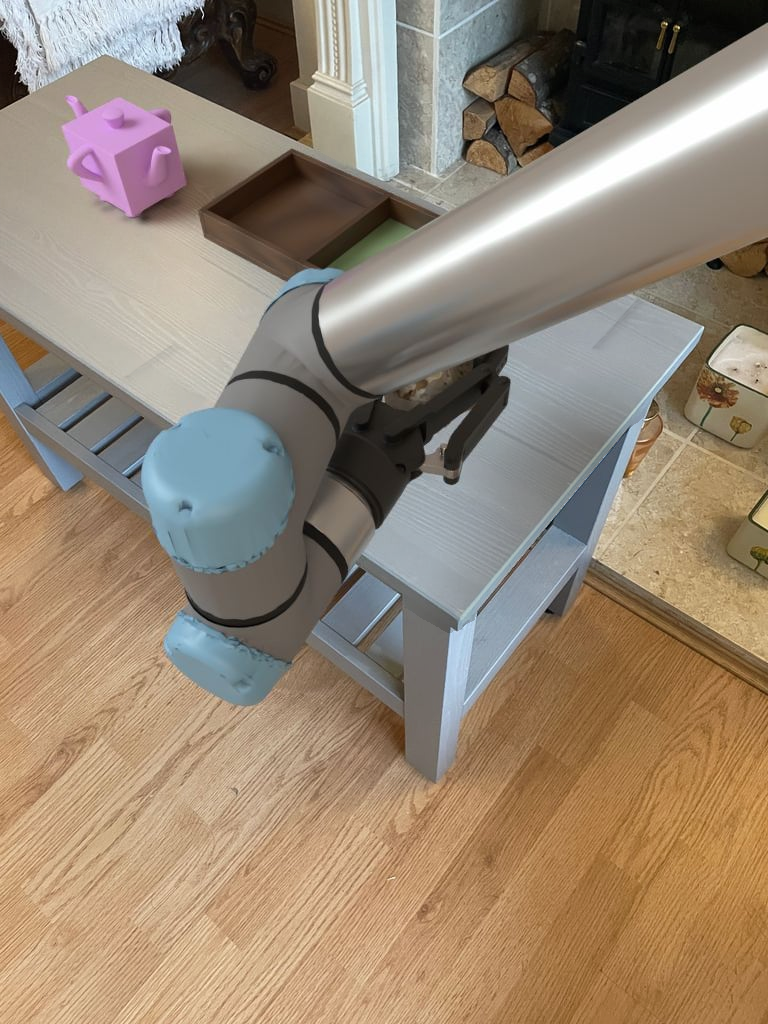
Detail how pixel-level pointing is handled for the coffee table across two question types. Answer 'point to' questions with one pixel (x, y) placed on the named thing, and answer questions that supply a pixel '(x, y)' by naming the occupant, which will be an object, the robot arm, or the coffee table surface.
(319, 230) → the divided wooden tray
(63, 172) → the coffee table surface
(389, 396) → the rock
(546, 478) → the coffee table surface
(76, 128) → the teapot
